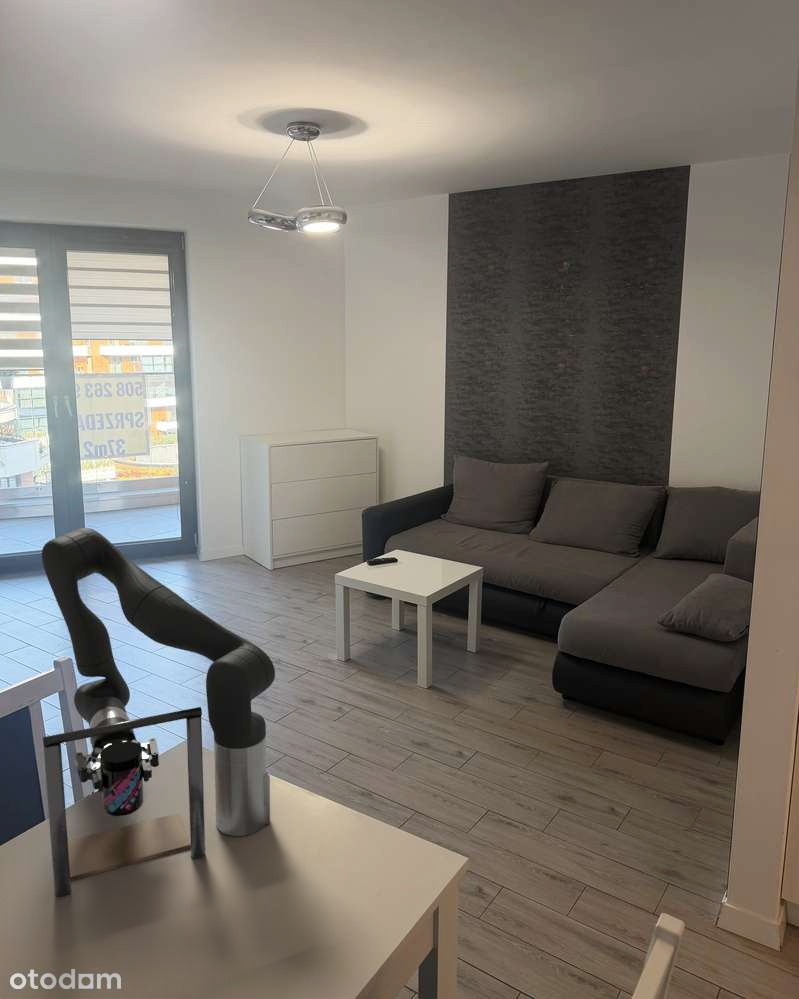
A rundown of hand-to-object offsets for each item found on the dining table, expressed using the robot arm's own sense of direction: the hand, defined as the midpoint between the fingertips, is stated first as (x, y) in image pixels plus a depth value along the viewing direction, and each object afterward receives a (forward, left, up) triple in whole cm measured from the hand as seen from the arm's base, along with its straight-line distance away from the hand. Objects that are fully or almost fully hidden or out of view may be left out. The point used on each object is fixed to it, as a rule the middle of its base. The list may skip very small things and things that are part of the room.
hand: (124, 781), depth 127 cm
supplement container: (0, -2, -6) cm, 7 cm away
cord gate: (0, +5, -14) cm, 15 cm away
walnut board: (0, -2, -14) cm, 14 cm away
